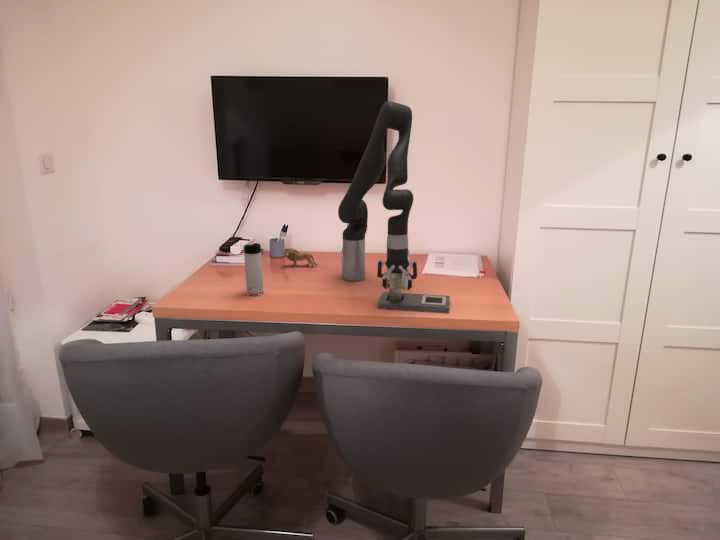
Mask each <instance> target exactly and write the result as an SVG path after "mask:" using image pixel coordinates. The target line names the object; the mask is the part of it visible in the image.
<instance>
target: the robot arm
mask: <svg viewBox="0 0 720 540" xmlns="http://www.w3.org/2000/svg"><path fill="white" fill-rule="evenodd" d="M412 111H413V110H412V109H411V107H410V106H409V105H405V104H402V103H398V102H395V101H391V100H388V101H385V102H384V103H383V104H382V106H381V107H380V109H379V112H378V116H377V118H376V120H375V123H374V127H373V130H372V133H371V136H370V138H369V141H368V142H367V143H368V144H367V146H366V148H365V151H364V152H363V154H362V156H361V160H360V161H359V164H358V166H357V168H356V172H355V173H354V176H353V178H352V181H351V182H350V185H349V187H348V189H347V190H346V193H345V195H344V196H343V198H342V200H341V201H340V204H339V206H338V209H337V210H338V211H337V213H338V214H337V215H338V217H339V220H340V221H341V222H342V223H343V224H348V225H347V227H346V228H345V229H344V230H343V231H342V256H341V279H342V280H345V281H349V282H359V281H363V280H365V279H366V233H367V230H368V218H369V217H368V215H369V210H368V206H367V203H366V201H365V200H364V199H363V198H364V197H365V196H366V194H367V193H368V192H369V191H370V190H371V189H372V188H373V187H374V186H375V184H376V183H377V182H378V181H379V179H380V178H381V176H382V173H383V171H384V168H385V166H386V165H387V169H386V170H387V176H386V177H387V180H386V181H387V182H386V186H385V190H384V193H383V197H382V205H383V208H384V209H386V210H387V211H401V213H399V214H397V215H392V216H390V217H388V219H387V237H386V260H382V259H379V260H378V262H377V275H376V277H377V278H381V279H382V284H381V285H382V288H384V289H385V290H387V287H388V286H387V278H386V277H387V276H388V275H389V274H390V273H391V272H392V273H404V275H405V276H406V277H407V278H408V286H407V291H410V289H412V287H413V280H416V279H418V278H417V277H418V264H417V261H416V260H414V261H410V262H409V261H408V250H409V236H408V233H409V232H408V231H409V230H408V229H409V228H408V227H409V218H410V212H411V211H412V207H413V202H414V194H413V192H412V191H411V190H410V189H394V188H396V187H399V186H403V185H405V184H406V183H407V182H408V179H409V178H408V176H409V175H408V155H409V154H408V153H409V147H410V141H411V132H412V126H413V125H412V124H413V112H412ZM388 129H391V130H393V131H397V132H398V139H397V143H396V144H395V146H394V147H393V149H392V151H391V152H390V154H389V156H388V159H387V158H386V151H385V145H384V138H385V135H386V132H387V130H388ZM386 163H387V164H386ZM384 266H387V267H388V269H387V271H385V272H384V273H382V268H384ZM408 266H409V267H410V268H411V269H412V274H411V272H410V270H409V271H408V269H407V267H408Z"/></svg>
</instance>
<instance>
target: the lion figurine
mask: <svg viewBox="0 0 720 540" xmlns="http://www.w3.org/2000/svg"><path fill="white" fill-rule="evenodd" d="M283 254H284V257H285V258H286V259H288V260H289V261H290V262H292V263H293V264H292V268H294V269H295V268H297V261H304V260H306V261H307V263H306V265H305V266H307V267H309V266H310V268H312V269H313V268H314V267H315V266H318V264H317V263H316V262H315V260H314V259H315V258H314V256H313V255H312V253H311V252H299V251H298V250H297V249H293V248H292V247H286V248H284V252H283ZM311 258H312V259H311Z"/></svg>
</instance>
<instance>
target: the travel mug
mask: <svg viewBox="0 0 720 540" xmlns="http://www.w3.org/2000/svg"><path fill="white" fill-rule="evenodd" d="M243 250H244V251H243V254H244V256H243V257H244V264H245V265H244V267H245V269H244V270H245V282H246V283H245V284H246V293H248V294H250V295H258V294H261V293H263V292H264V281H263V280H264V279H263V278H264V277H263V262H262V251H261V243H252V244H245V245H243ZM248 294H247V295H248ZM263 294H264V293H263ZM250 295H249V296H250Z"/></svg>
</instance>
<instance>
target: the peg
mask: <svg viewBox="0 0 720 540" xmlns="http://www.w3.org/2000/svg"><path fill="white" fill-rule="evenodd" d="M402 291H403V288H402V273H392V272H391V273H390V286H389V292H390V294H389V300H388V301H399V302H402V301H401V297H402V293H403V292H402Z"/></svg>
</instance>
